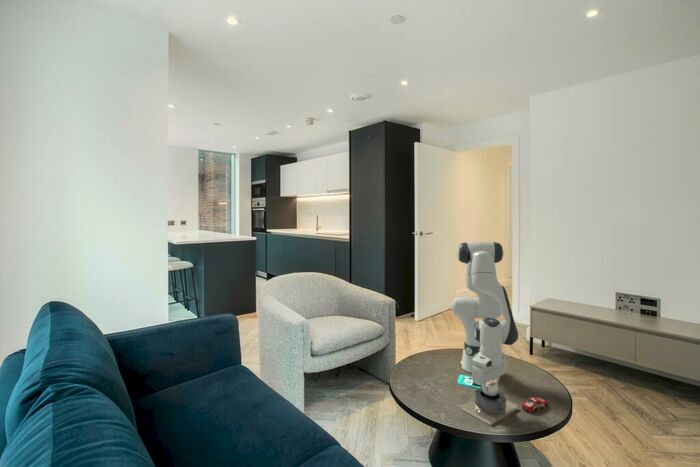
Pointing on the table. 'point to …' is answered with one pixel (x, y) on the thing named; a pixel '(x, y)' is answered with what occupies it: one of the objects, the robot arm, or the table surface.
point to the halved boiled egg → (492, 388)
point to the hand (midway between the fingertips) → (490, 388)
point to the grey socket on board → (489, 407)
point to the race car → (534, 404)
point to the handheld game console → (467, 381)
